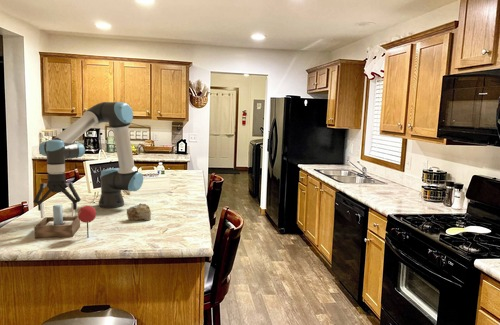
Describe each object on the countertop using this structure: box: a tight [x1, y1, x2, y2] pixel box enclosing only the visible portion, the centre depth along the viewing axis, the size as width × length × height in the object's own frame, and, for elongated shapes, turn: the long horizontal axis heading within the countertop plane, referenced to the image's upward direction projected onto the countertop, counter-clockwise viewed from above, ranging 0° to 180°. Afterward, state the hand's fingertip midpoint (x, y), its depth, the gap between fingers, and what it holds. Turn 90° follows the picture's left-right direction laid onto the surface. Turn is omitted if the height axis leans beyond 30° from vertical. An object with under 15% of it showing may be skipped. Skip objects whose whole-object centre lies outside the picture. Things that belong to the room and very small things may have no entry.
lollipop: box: [77, 205, 97, 239], centre depth 175 cm, size 8×8×15 cm
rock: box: [126, 202, 152, 221], centre depth 208 cm, size 12×7×10 cm, turn 92°
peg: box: [52, 204, 64, 225], centre depth 182 cm, size 4×4×12 cm
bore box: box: [33, 215, 81, 239], centre depth 183 cm, size 16×16×6 cm
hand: (58, 216), depth 182 cm, fingers open, 13 cm apart
